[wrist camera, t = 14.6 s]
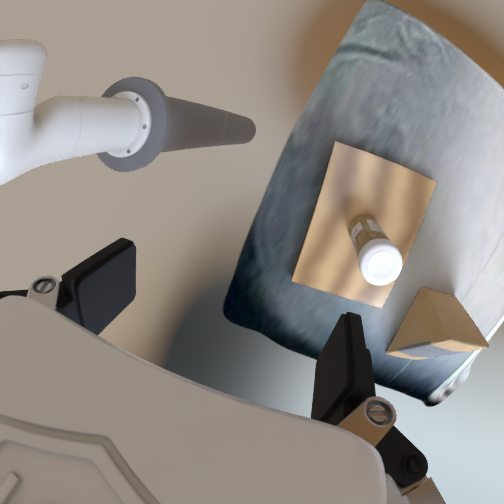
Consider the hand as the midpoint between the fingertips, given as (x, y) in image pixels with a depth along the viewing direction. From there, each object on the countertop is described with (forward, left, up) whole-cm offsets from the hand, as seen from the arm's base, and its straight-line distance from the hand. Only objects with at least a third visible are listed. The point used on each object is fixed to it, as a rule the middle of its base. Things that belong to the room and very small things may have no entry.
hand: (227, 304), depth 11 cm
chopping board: (+12, -3, -30) cm, 33 cm away
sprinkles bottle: (+12, -2, -29) cm, 31 cm away
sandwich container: (+30, -16, -30) cm, 45 cm away
